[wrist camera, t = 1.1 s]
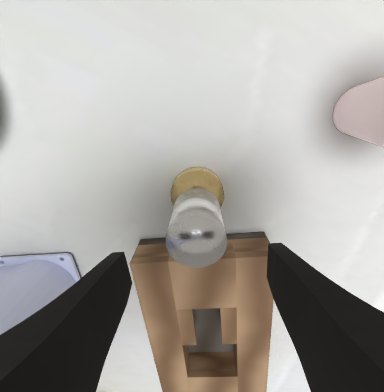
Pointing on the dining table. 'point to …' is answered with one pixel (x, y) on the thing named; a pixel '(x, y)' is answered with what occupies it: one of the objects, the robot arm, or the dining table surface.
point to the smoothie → (362, 112)
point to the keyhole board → (207, 315)
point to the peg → (196, 219)
